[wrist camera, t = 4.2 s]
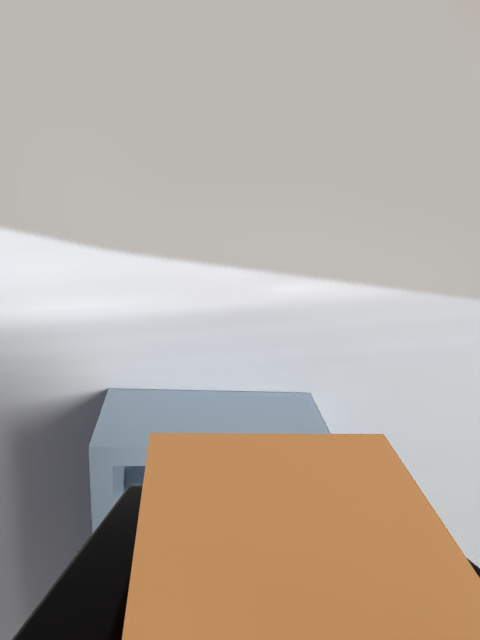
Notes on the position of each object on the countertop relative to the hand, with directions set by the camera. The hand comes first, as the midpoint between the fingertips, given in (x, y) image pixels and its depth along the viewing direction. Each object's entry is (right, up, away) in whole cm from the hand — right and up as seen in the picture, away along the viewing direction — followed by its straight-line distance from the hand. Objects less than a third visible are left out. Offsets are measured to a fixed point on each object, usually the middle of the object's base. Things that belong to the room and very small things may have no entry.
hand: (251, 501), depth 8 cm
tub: (-2, -6, +14) cm, 15 cm away
